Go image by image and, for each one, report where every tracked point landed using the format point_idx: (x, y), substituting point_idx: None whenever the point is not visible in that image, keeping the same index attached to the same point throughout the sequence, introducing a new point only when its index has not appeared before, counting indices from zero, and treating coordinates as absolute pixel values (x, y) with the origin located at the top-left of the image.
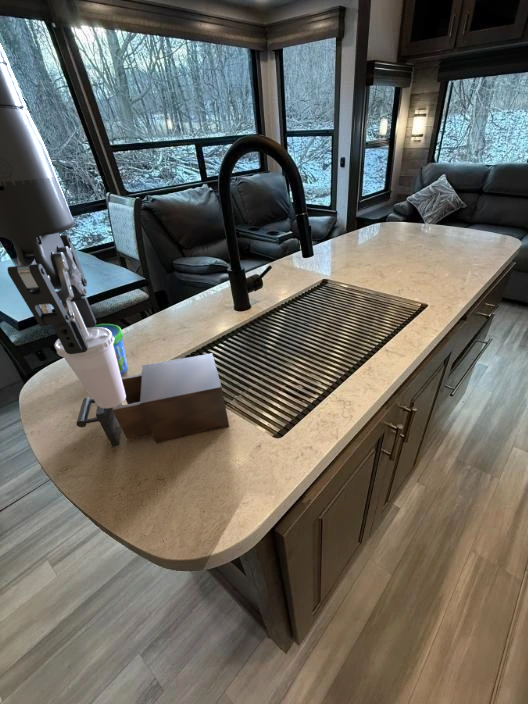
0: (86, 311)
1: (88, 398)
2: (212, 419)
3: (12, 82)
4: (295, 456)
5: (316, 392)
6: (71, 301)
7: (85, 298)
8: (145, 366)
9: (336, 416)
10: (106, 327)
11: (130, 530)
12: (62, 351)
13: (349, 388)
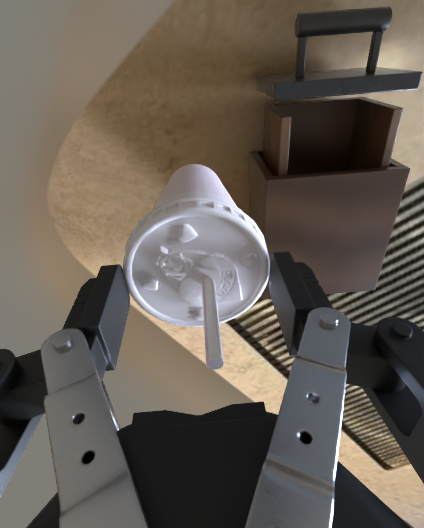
0: (280, 315)
1: (385, 25)
2: None
3: None
4: None
5: (275, 349)
6: (292, 322)
7: (295, 354)
8: (400, 176)
9: (224, 357)
10: None
11: (87, 129)
12: (130, 241)
13: (267, 377)
